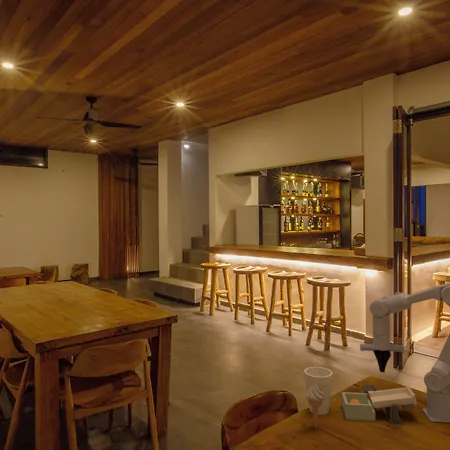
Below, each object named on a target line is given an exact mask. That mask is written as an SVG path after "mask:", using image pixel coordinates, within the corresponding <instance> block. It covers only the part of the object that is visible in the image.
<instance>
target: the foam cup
mask: <svg viewBox="0 0 450 450" xmlns="http://www.w3.org/2000/svg"><path fill="white" fill-rule="evenodd" d="M333 373H334V372H333V370H331V369H329V368H326V367H321V366H311V367H306V368H304V375H303V376H304V380H305V388H306V392H307V391H308V390H309V388H310V387H311V386H312V384H313V383H314V381H316V383H317V385H318V386H319V388H320V389H321V391H322V392H323V393H324V396H323V397H324V399H323V401H322V405H320V406H319V409H318V416H323V415H324V416H325V415H327V414H329V409H330V403H331V394H332V385H333V382H334V379H333V378H334V377H333V376H334V374H333ZM307 403H308V409H309V412H310V413H312V414H313V411H312V406H311V405H310V404H309V402H308V401H307Z"/></svg>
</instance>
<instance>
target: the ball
mask: <svg viewBox="0 0 450 450" xmlns="http://www.w3.org/2000/svg"><path fill="white" fill-rule="evenodd" d="M349 403H353V404H361V403H360V402H359V401H358V400H356V399H352V400H350V402H349Z"/></svg>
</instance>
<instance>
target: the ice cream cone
mask: <svg viewBox="0 0 450 450" xmlns="http://www.w3.org/2000/svg"><path fill="white" fill-rule="evenodd" d="M305 395H306V399H307V403H308V402H309V403H308V405H309V404H310V405H311V406H312V411H313V413H312V416H313V417H312V419H313V426H314V429H315V430H316V429H318V420H319V419H318V418H319V415H318V409H319V406H320V405H322V401H323V399H324V397H323V396H324V393H323V392H322V391H321V389H320V388H319V386H318V385H317V383H316V381H314V383H313V384H312V386H311V387H310V388H309V390H308V391H307V390H306V393H305Z"/></svg>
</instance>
